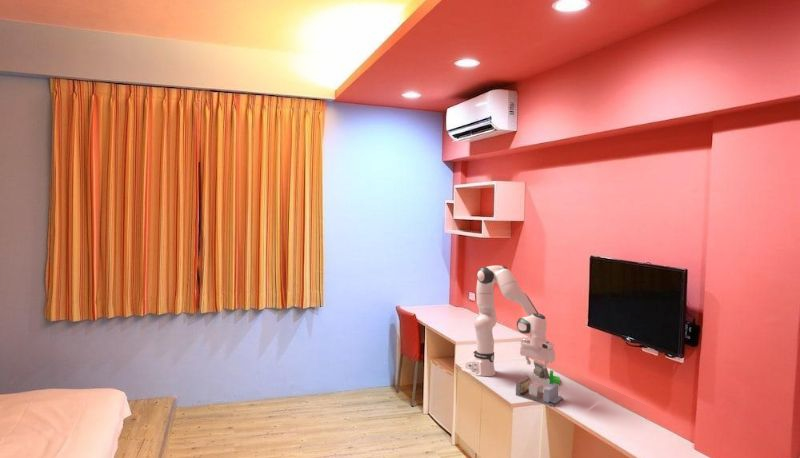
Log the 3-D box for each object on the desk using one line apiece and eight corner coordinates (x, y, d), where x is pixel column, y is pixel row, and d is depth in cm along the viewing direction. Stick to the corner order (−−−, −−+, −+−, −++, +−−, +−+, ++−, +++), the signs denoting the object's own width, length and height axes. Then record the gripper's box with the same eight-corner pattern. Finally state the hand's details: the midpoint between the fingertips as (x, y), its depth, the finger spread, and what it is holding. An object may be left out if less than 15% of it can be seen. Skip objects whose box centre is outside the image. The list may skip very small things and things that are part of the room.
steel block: (528, 395, 282) (529, 385, 282) (535, 392, 288) (535, 381, 288) (537, 397, 279) (537, 387, 279) (543, 394, 285) (543, 383, 285)
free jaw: (542, 400, 274) (543, 388, 274) (552, 394, 283) (552, 382, 283) (554, 404, 270) (554, 391, 269) (563, 397, 279) (563, 385, 279)
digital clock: (550, 379, 314) (550, 365, 313) (538, 380, 313) (539, 365, 313) (542, 372, 327) (543, 359, 327) (531, 372, 327) (531, 359, 326)
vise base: (515, 395, 285) (516, 381, 284) (526, 389, 294) (526, 376, 294) (553, 406, 270) (554, 391, 269) (563, 400, 279) (563, 385, 279)
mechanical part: (559, 385, 304) (560, 372, 303) (549, 384, 305) (549, 371, 305) (559, 379, 315) (559, 367, 315) (549, 378, 317) (550, 366, 317)
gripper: (518, 339, 287) (517, 363, 287) (552, 347, 273) (550, 371, 274) (523, 337, 291) (522, 360, 292) (556, 345, 278) (555, 369, 279)
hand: (536, 366), depth 283 cm, fingers open, 8 cm apart
